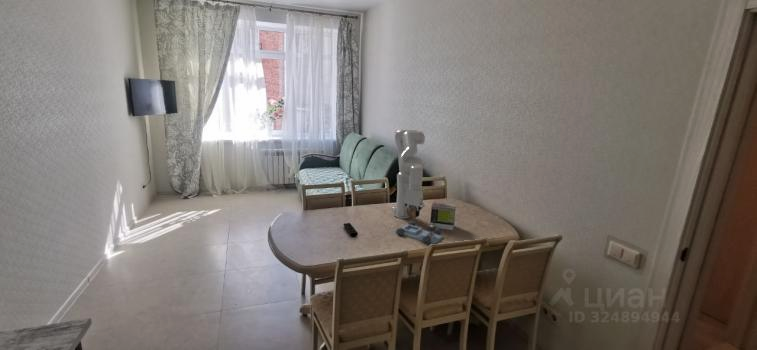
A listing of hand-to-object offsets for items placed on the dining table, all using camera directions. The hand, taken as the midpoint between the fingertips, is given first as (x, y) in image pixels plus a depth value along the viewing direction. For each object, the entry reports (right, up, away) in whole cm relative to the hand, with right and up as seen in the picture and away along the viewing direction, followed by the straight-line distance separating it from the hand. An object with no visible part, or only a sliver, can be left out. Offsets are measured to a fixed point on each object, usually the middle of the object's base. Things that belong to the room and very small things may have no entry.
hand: (413, 215), depth 216 cm
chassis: (+4, -12, 0) cm, 13 cm away
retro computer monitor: (+21, -10, +16) cm, 28 cm away
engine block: (0, -1, 0) cm, 1 cm away
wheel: (+10, -10, -5) cm, 15 cm away
